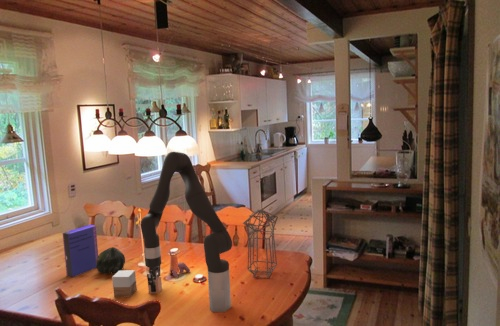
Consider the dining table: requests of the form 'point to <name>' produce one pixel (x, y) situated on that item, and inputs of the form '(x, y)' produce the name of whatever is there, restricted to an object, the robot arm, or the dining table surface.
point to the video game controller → (181, 269)
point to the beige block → (158, 286)
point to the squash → (110, 261)
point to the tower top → (124, 278)
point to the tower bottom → (125, 291)
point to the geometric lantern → (261, 238)
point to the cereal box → (80, 250)
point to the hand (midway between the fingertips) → (155, 289)
